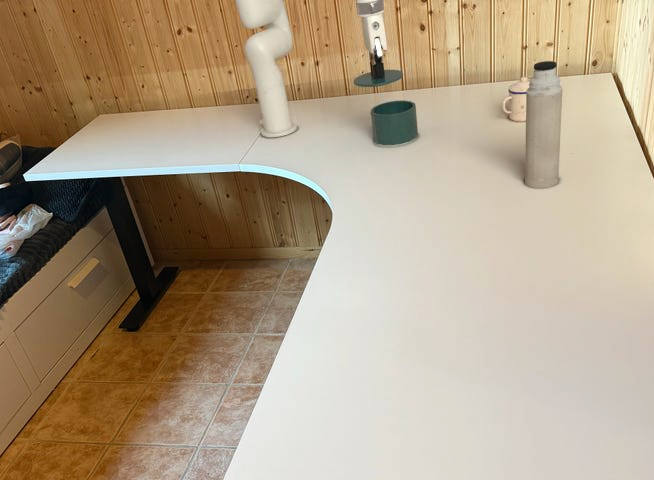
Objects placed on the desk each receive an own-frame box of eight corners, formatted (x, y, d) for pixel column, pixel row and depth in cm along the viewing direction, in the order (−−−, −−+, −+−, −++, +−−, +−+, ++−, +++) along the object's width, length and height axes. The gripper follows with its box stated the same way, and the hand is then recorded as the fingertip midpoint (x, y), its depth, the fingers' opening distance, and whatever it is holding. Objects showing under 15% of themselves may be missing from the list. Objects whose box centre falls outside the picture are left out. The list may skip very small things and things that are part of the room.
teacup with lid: (528, 109, 210) (528, 71, 203) (545, 116, 203) (546, 76, 196) (494, 119, 207) (494, 80, 200) (510, 126, 200) (510, 86, 193)
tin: (365, 143, 208) (361, 112, 203) (394, 128, 215) (391, 98, 209) (397, 149, 200) (394, 117, 194) (427, 134, 206) (424, 103, 200)
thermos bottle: (526, 175, 171) (528, 59, 154) (559, 174, 168) (564, 56, 151) (523, 188, 165) (524, 69, 148) (556, 187, 162) (562, 66, 146)
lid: (344, 86, 198) (340, 64, 194) (378, 72, 205) (375, 50, 201) (379, 91, 188) (376, 68, 184) (413, 75, 195) (411, 53, 191)
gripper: (390, 9, 178) (397, 80, 189) (377, 1, 192) (384, 68, 202) (363, 15, 178) (371, 86, 189) (351, 6, 191) (360, 73, 202)
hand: (378, 76), depth 196 cm, fingers closed on lid, 2 cm apart
